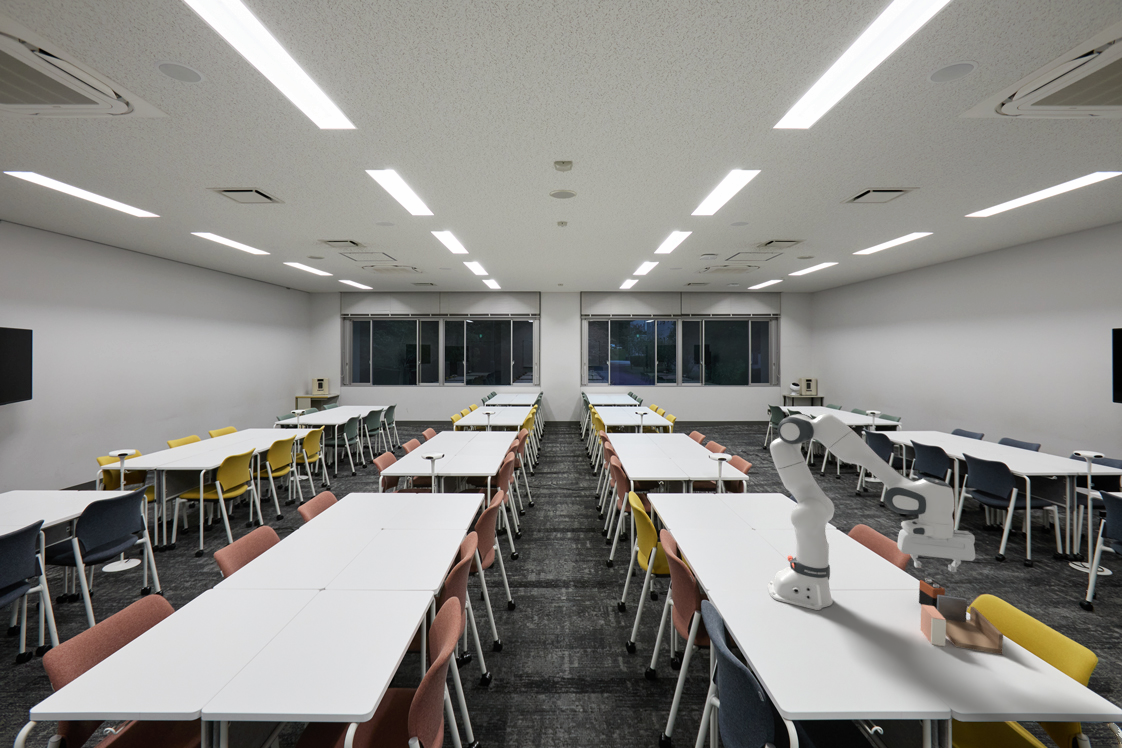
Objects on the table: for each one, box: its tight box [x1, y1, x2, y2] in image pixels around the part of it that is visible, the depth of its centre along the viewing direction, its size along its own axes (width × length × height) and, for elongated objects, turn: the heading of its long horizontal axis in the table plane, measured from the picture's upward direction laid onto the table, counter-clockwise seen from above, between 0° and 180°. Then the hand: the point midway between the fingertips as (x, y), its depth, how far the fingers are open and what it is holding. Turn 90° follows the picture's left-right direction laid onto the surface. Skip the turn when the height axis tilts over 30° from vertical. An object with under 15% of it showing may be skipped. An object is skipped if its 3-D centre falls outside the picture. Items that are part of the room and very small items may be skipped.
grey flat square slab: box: [937, 595, 968, 622], centre depth 154 cm, size 8×1×8 cm, turn 71°
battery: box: [918, 577, 946, 609], centre depth 164 cm, size 4×7×10 cm, turn 179°
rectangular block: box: [920, 604, 947, 647], centre depth 147 cm, size 4×8×9 cm, turn 161°
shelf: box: [945, 606, 1004, 655], centre depth 148 cm, size 12×16×6 cm
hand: (934, 569), depth 146 cm, fingers open, 8 cm apart
